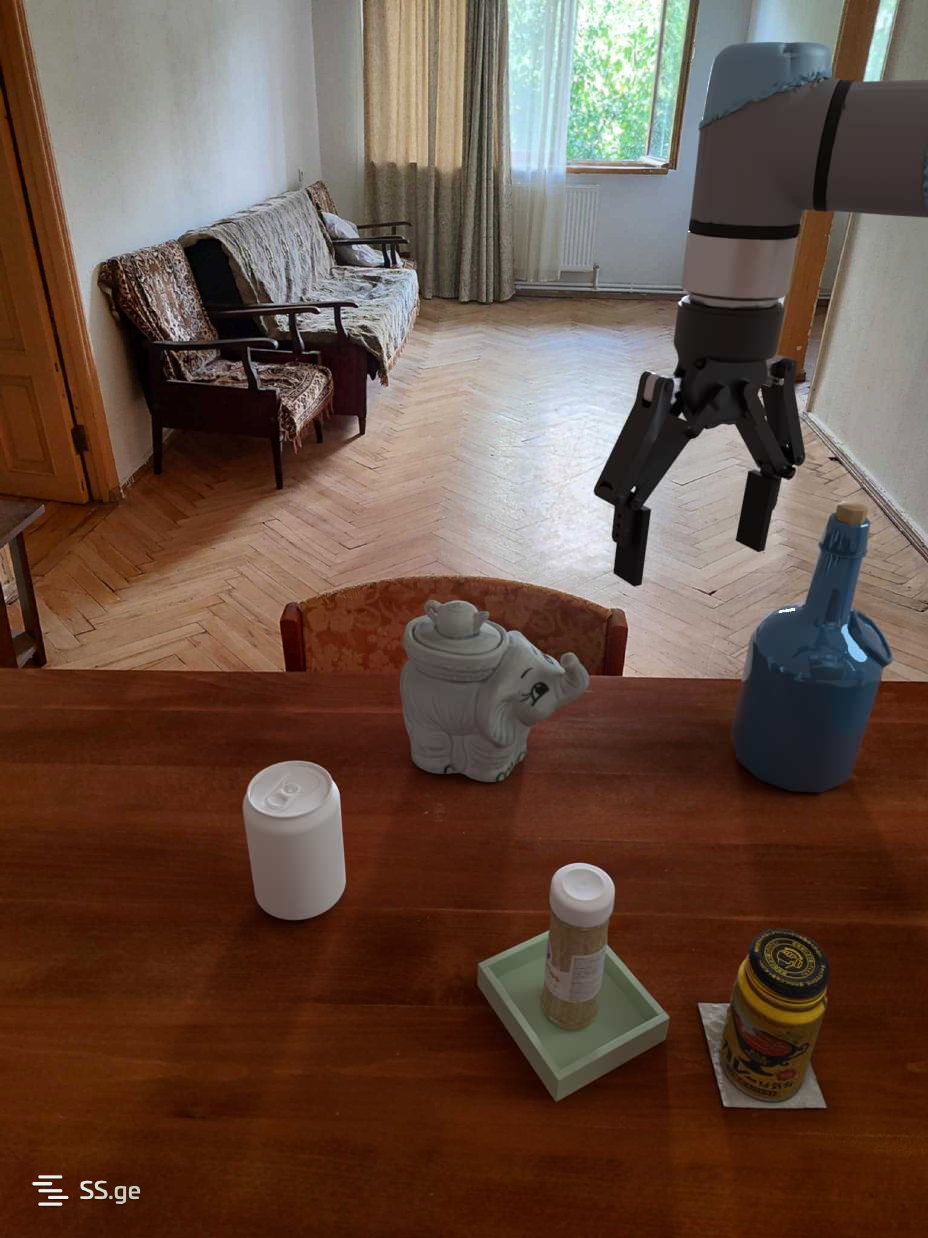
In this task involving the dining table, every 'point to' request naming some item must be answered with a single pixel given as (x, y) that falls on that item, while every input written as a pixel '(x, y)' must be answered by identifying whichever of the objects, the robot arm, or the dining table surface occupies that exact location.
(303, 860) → the beverage can
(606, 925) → the sprinkles bottle
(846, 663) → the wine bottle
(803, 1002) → the condiment
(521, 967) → the tray
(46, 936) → the dining table surface
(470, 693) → the elephant cookie jar
